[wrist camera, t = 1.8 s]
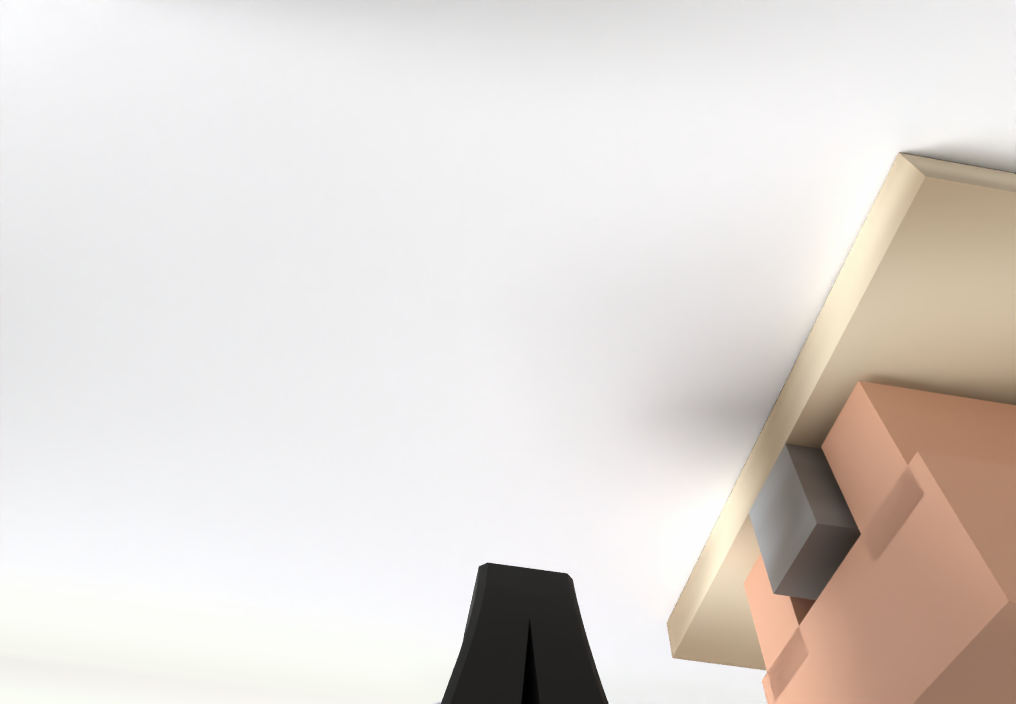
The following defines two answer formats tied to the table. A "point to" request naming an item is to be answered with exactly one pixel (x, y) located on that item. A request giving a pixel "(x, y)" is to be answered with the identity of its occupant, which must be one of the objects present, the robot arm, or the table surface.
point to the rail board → (870, 358)
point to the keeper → (907, 561)
